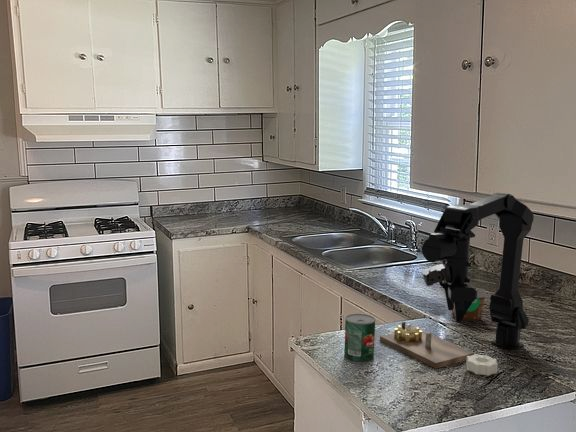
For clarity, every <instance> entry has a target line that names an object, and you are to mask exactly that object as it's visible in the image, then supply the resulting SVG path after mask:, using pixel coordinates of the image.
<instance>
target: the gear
mask: <svg viewBox="0 0 576 432" xmlns="http://www.w3.org/2000/svg"><path fill="white" fill-rule="evenodd" d="M419 329H420V328H419V327H418V326H417V327H414V326H413V325H412V324H411V323H406V321H401V325H398V326H397V327H394V331H393V333H394V337H397V340H402V341H405V342H414V341H415V342H418V341H419V339H422V331H423V330H422V331H419Z"/></svg>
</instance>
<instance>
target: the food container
mask: <svg viewBox="0 0 576 432" xmlns="http://www.w3.org/2000/svg"><path fill="white" fill-rule="evenodd" d="M476 291H477V299H475V301H473V303H472V304H471V306H470V307H469V309H468V310H467V312H466V314H465V316H464V317H463V319H462V321H467V322H468V321H469V322H474V321H480V320H481V319H482V316H483V309H484V304H485V298H487V296H488V294H487V290H486V289H483V290H476ZM451 315H453V316H454V318H455V311H454V308H453V310H451ZM453 316H452V317H453Z"/></svg>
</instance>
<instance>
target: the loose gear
mask: <svg viewBox="0 0 576 432" xmlns="http://www.w3.org/2000/svg"><path fill="white" fill-rule="evenodd" d="M465 361H466V363H465V366H466V370H467V371H469V372H472V373H474V374H475V375H485V376H488V377H489V376H491V375H494V374H497V373H498V362H497V359H496V358H493V357H491V356H489V355H486V354H485V355H481V354H477V353H474V355H472V356H467V360H465Z"/></svg>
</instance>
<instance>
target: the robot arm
mask: <svg viewBox="0 0 576 432" xmlns="http://www.w3.org/2000/svg"><path fill="white" fill-rule="evenodd" d="M492 215H495V216H496V217H497V218H498V222H499V223H498V224H499V226H498V227H499V229H500V231H501V234H502V236H503V247H502V256H501V266H500V267H501V268H500V276H499V285H498V289H497V290H496V292H494V294H491V295H490V299H489V300H490V301H489V306H488V309H489V314H490V320H491V322H494V323H497V325H496V330H495V339H494V340H492V341H491V342H490V343H491V344H493V345H496V346H498V347H500V348H503V349H505V350H508V351H512V350H515V349H519V348H523V347H525V343H521V342H520V341H521V331H522V330H525V329H526V328H527V327H528V325H529V320H530V319H529V317H528V315H527V314H526V312H525V311H524V310H523V309H524V300H523V299H522V296H521V294H520V292H519V281H520V273H521V266H522V265H521V264H522V256H523V246H524V239H525V238H526V237H527V236H528V235H529V233H530V232H531V231H532V226H533V222H534V217H535V216H534V213H533V212H532V211H531V209H530V208H529V207H528V206H527V205H526V204H525V203H523V202H521V201H519V200H518V199H516V197H515V196H514V195H512V194H510V193H505V192H495V193H493V194H492V195H490V196H487V197H484V198H482V199H480V200H477V201H474V202H472V203H468V204H452V205H451V204H450V205H448V206H446V207H445V208H444V211H443V213H442V214H441V216H440V218H439V221H438V222H437V225H436V227H435V229H434V231H433V233H430V234H429V236H428V238H427V239H426V240H424V242H423V245H422V246H421V253H422V256H423V257H424V259H425V260H426V261H427V262H430V263H436V262H441V261H442V262H441V264H436V265H433V266H430V267H426V268H424V269H422V270H421V271H420V273H421V275H422V278H423V282H424V283H425V285H426V287H430V286H433V285H435V284H437V283H438V284H439V285H440V287H442V289H443V290H444V295H445V301H446V305H447V310H448V311H452V310H453V308H454V311H455V317H454V318H455V322H456V323H461V322H462V321H463V320H462V319H463V317H464V316H465V314H466V312H467V310H468V309H469V307H470V306H471V304H472V303H473V301H475V299H477V291H478V290H477V289H476V288H475V287H474V286H473V284H471V278H470V277H469V268H470V267H472V266H471V265H472V262H471V261H470V248H471V247H470V246H471V243H470V241H471V239H472V238H475V237H476V234H475V233H474V232H473V229H475V228H476V227H478V226H479V222H480V221H481V220H483V219H486V218H489V217H490V216H492Z"/></svg>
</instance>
